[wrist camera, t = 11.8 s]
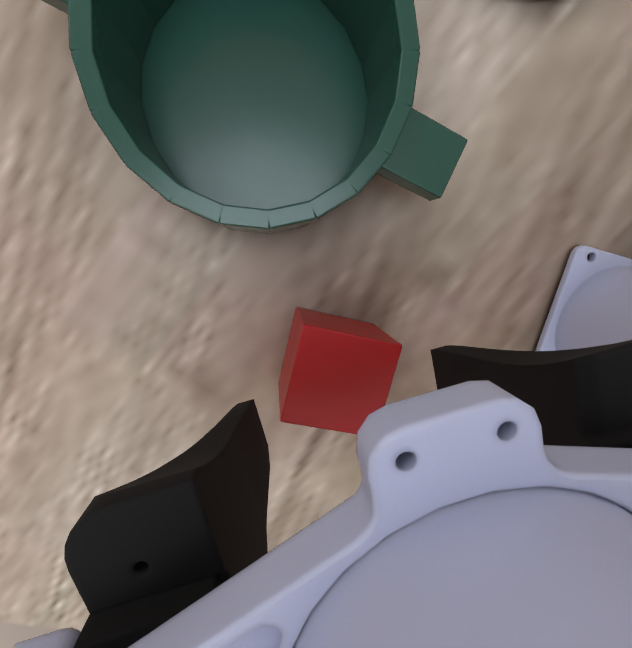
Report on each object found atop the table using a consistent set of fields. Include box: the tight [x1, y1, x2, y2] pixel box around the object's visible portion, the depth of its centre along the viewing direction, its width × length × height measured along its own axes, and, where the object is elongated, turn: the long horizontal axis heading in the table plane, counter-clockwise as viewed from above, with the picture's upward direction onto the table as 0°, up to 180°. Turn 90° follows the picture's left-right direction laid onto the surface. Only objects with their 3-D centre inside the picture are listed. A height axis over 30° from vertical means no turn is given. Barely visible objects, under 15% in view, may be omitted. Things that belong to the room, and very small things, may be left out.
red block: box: [278, 307, 402, 434], centre depth 17 cm, size 4×4×4 cm
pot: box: [42, 0, 467, 234], centre depth 14 cm, size 11×17×5 cm
